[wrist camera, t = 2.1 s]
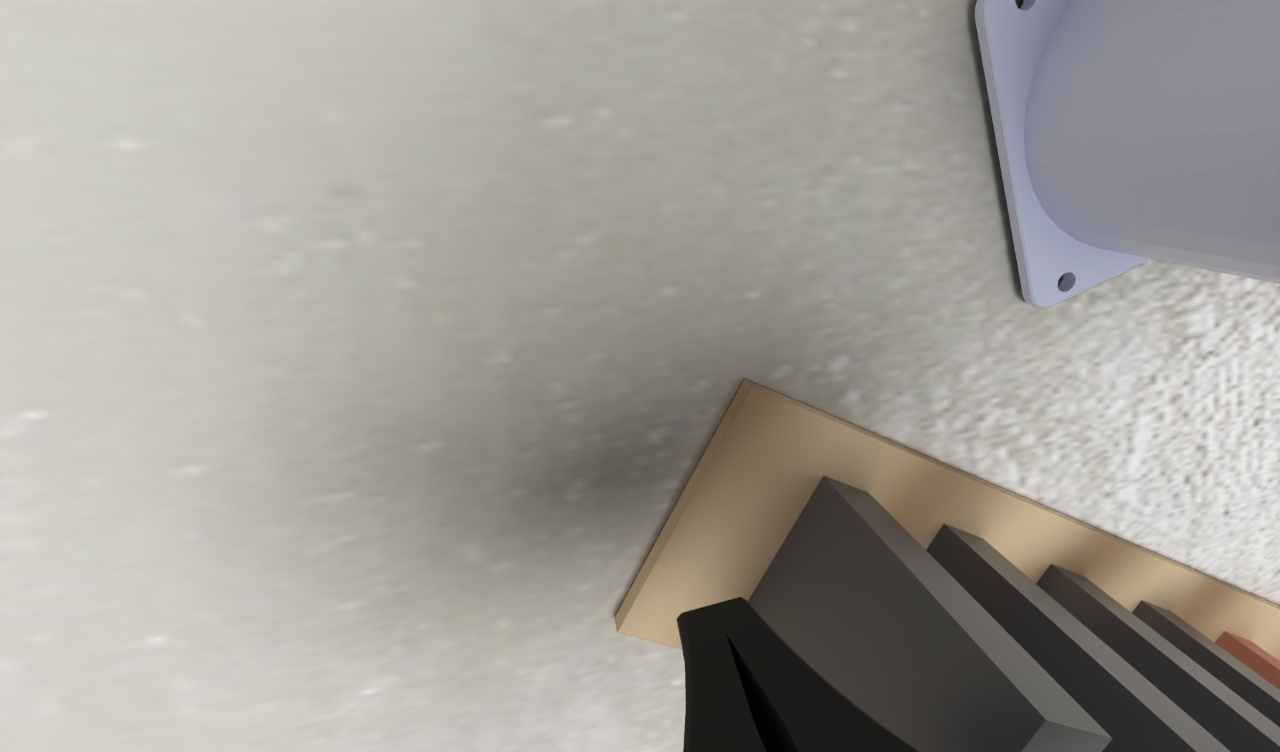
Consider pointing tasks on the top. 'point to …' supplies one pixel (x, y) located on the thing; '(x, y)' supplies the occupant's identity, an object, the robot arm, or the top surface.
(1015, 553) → the board
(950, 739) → the domino
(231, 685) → the top surface
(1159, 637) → the domino
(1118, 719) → the domino
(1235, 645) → the domino
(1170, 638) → the domino
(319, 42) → the top surface
